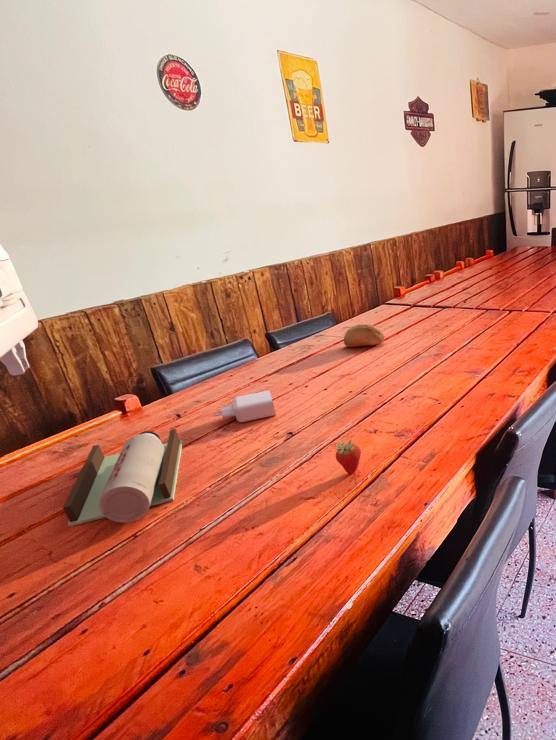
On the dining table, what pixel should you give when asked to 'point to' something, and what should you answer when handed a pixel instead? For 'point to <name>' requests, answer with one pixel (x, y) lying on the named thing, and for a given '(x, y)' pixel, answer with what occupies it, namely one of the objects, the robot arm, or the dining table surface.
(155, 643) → the dining table surface
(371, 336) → the bread roll
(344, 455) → the fruit
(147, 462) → the thermos bottle
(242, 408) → the white nozzle bottle
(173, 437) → the tray
